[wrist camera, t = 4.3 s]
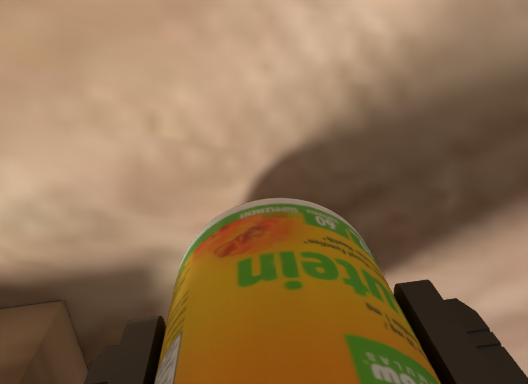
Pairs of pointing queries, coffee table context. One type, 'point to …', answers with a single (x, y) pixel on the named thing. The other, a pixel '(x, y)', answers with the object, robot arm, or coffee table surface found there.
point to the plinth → (39, 346)
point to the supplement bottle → (286, 305)
